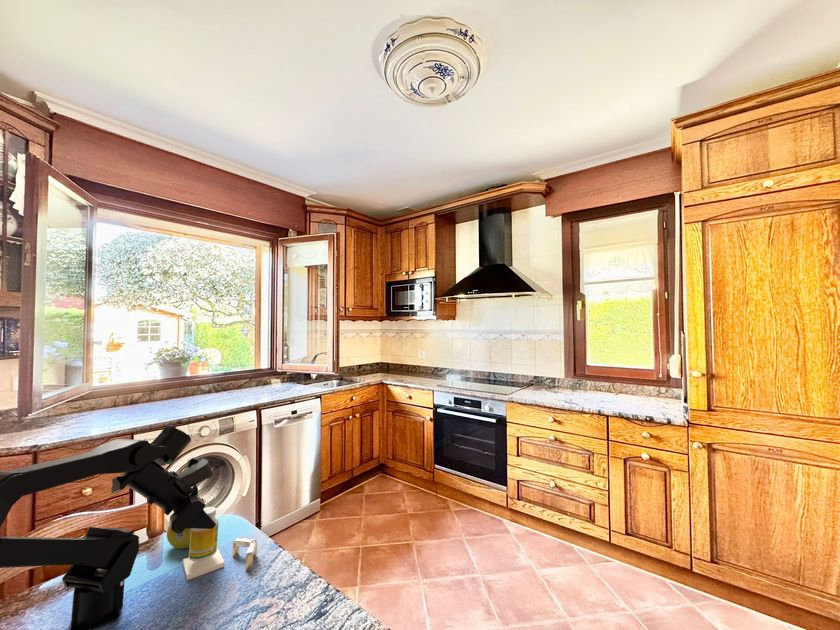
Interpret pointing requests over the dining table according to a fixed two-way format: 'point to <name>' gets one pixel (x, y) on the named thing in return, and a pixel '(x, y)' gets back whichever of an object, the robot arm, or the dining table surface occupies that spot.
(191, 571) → the cream coaster
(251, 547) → the bent steel bracket
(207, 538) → the supplement bottle
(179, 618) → the dining table surface
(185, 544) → the lemon
